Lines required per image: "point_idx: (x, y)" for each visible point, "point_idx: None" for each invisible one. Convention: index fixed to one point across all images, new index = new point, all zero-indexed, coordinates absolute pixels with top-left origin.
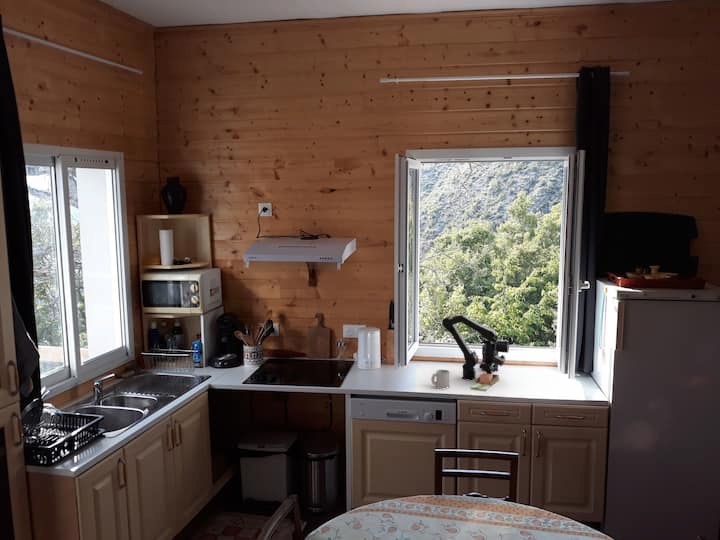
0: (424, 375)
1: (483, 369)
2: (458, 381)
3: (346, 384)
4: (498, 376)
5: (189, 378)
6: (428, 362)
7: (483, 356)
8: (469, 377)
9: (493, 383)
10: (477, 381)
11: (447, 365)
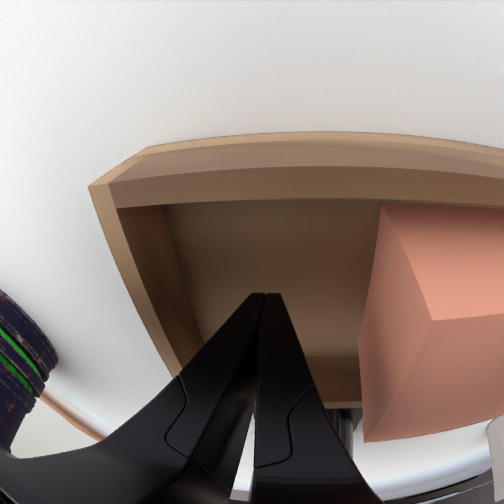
0: None
1: (52, 364)
2: None
3: (465, 478)
4: (125, 171)
5: (439, 500)
6: None
7: (11, 442)
8: (350, 426)
9: (476, 149)
10: None
11: None
